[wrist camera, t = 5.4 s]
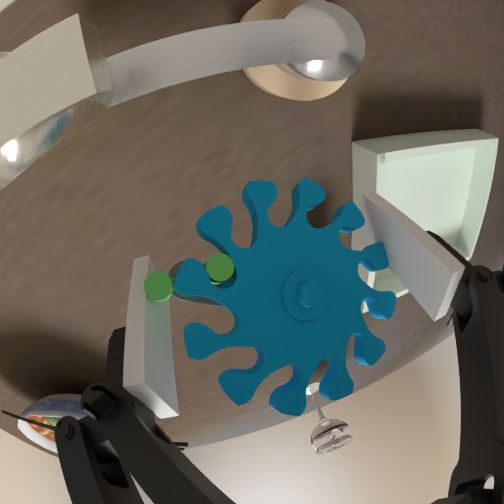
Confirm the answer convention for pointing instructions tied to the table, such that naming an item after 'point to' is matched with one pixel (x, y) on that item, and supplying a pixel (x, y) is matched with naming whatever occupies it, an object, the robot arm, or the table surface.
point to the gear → (283, 296)
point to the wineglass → (327, 429)
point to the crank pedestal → (271, 76)
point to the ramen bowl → (53, 418)
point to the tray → (426, 187)
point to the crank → (152, 70)
